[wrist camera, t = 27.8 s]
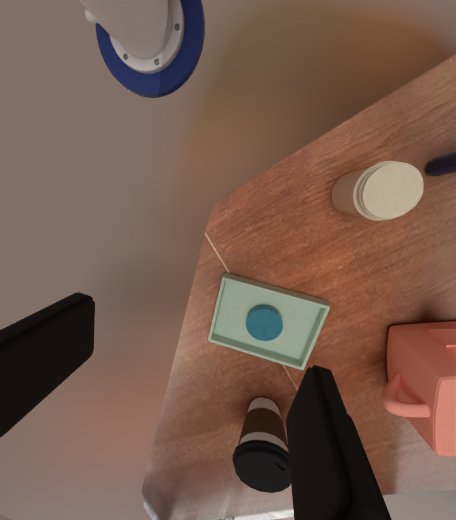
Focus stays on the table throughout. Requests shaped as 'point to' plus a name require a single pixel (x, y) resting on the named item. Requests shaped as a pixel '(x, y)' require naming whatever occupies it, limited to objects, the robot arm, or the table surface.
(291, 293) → the tray
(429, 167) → the flask
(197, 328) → the table surface
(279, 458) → the coffee cup
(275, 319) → the lid
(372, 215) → the jar
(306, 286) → the table surface
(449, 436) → the teapot
